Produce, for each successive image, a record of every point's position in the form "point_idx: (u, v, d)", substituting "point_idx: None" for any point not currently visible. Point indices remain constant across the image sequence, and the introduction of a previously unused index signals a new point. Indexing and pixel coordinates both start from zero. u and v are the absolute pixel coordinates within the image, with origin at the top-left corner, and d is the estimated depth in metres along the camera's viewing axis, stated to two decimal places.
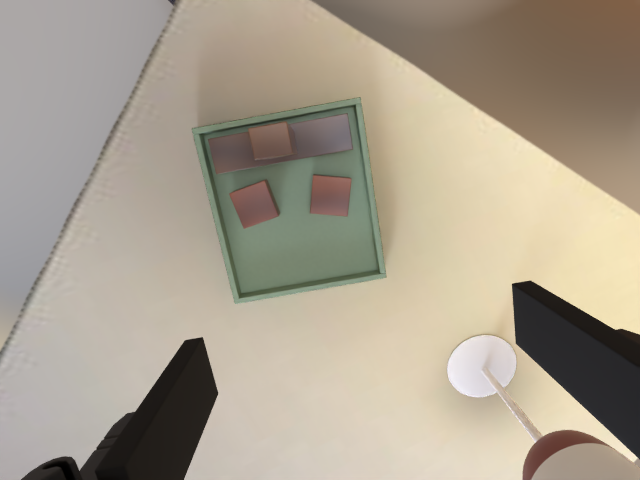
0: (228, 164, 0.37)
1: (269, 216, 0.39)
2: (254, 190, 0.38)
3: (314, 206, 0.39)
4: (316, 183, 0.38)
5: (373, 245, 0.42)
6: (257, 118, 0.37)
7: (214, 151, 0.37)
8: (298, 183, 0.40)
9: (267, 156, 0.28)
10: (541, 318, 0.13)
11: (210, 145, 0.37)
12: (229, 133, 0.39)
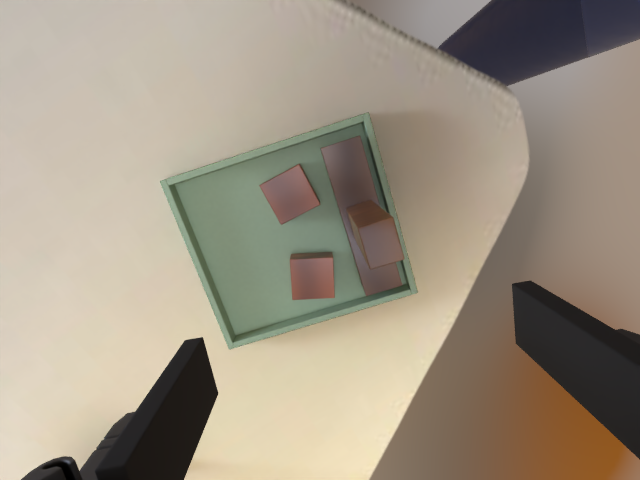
0: (333, 162, 0.31)
1: (279, 214, 0.33)
2: (307, 194, 0.32)
3: (298, 263, 0.34)
4: (324, 262, 0.34)
5: (262, 326, 0.37)
6: (387, 188, 0.33)
7: (346, 144, 0.31)
8: (319, 237, 0.35)
9: (363, 242, 0.24)
10: (541, 318, 0.13)
11: (353, 139, 0.31)
12: None
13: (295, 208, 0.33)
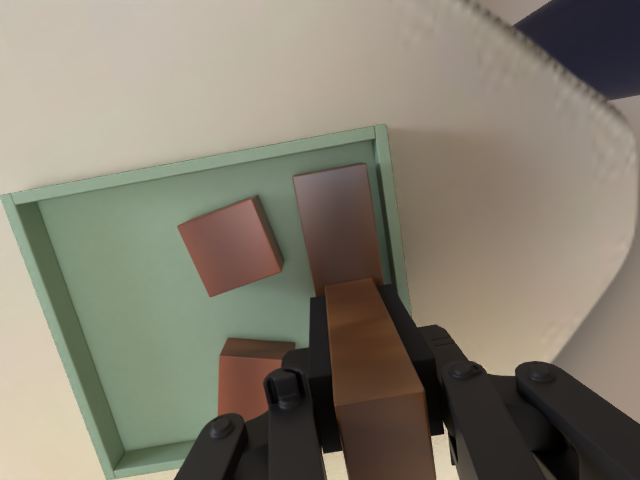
0: (313, 204, 0.17)
1: (207, 279, 0.19)
2: (260, 251, 0.18)
3: (232, 363, 0.20)
4: (278, 366, 0.20)
5: (170, 442, 0.23)
6: (400, 258, 0.19)
7: (340, 176, 0.17)
8: (277, 317, 0.21)
9: (344, 438, 0.10)
10: None
11: (352, 168, 0.17)
12: (371, 193, 0.20)
13: (237, 273, 0.19)
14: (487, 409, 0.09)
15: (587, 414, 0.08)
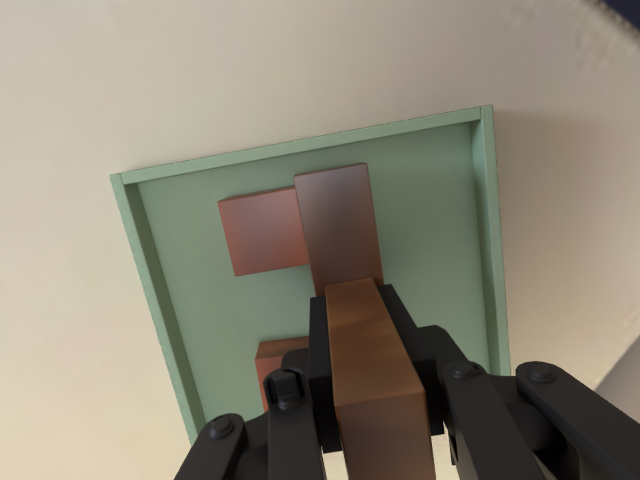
0: (313, 204, 0.17)
1: (236, 259, 0.19)
2: (293, 240, 0.19)
3: (269, 365, 0.20)
4: None
5: None
6: (498, 238, 0.19)
7: (341, 175, 0.17)
8: None
9: (344, 438, 0.10)
10: None
11: (353, 168, 0.17)
12: (466, 174, 0.20)
13: (267, 257, 0.19)
14: (487, 409, 0.09)
15: (587, 414, 0.08)
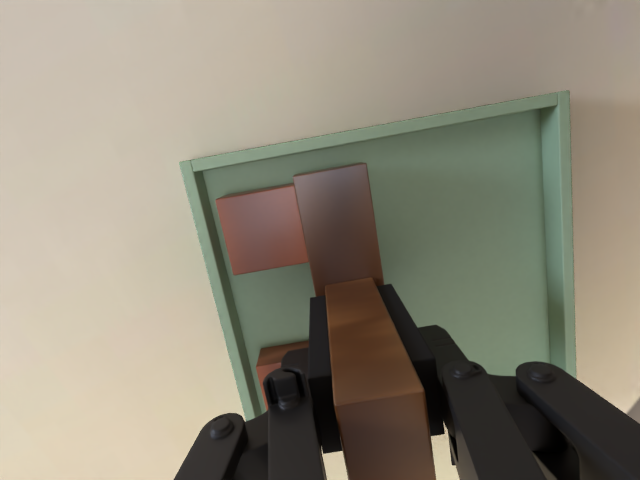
0: (313, 204, 0.17)
1: (235, 257, 0.19)
2: (292, 238, 0.19)
3: (270, 371, 0.20)
4: None
5: None
6: (569, 226, 0.19)
7: (340, 175, 0.17)
8: (428, 289, 0.21)
9: (344, 437, 0.10)
10: None
11: (353, 167, 0.17)
12: (534, 162, 0.20)
13: (265, 256, 0.19)
14: (487, 409, 0.09)
15: (587, 414, 0.08)
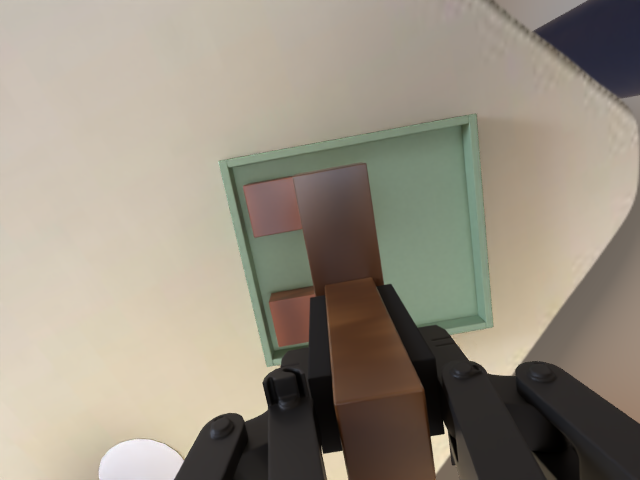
0: (313, 204, 0.17)
1: (255, 225, 0.28)
2: (294, 212, 0.28)
3: (278, 305, 0.29)
4: (309, 300, 0.29)
5: (306, 343, 0.32)
6: (481, 204, 0.28)
7: (340, 175, 0.17)
8: (389, 250, 0.31)
9: (344, 437, 0.10)
10: None
11: (352, 167, 0.17)
12: (459, 161, 0.29)
13: (276, 224, 0.28)
14: (487, 409, 0.09)
15: (587, 414, 0.08)
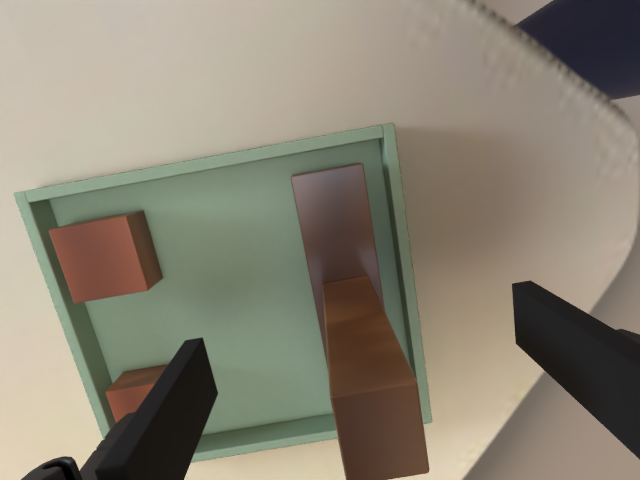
0: (311, 203, 0.18)
1: (73, 286, 0.19)
2: (128, 268, 0.19)
3: (120, 396, 0.20)
4: None
5: None
6: (407, 254, 0.19)
7: (337, 176, 0.17)
8: (285, 313, 0.22)
9: (340, 429, 0.10)
10: (542, 318, 0.13)
11: (349, 168, 0.17)
12: (378, 191, 0.20)
13: (104, 284, 0.19)
14: None
15: None
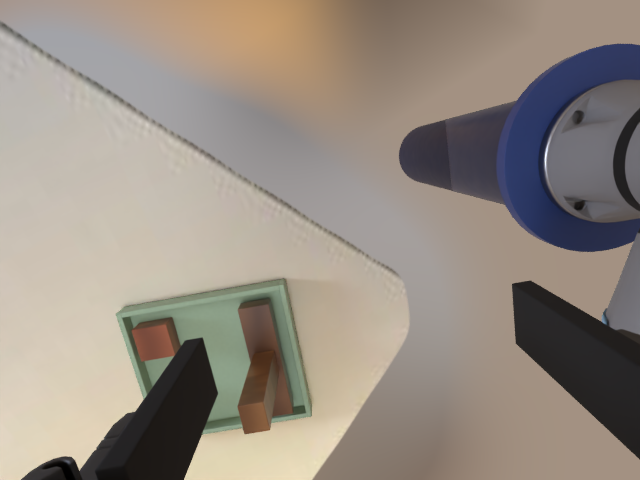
0: (246, 320, 0.41)
1: (141, 354, 0.42)
2: (166, 346, 0.42)
3: None
4: None
5: None
6: (293, 339, 0.42)
7: (257, 309, 0.41)
8: (240, 363, 0.45)
9: (240, 416, 0.33)
10: (542, 318, 0.13)
11: (263, 306, 0.40)
12: (281, 308, 0.43)
13: (155, 353, 0.42)
14: None
15: None
